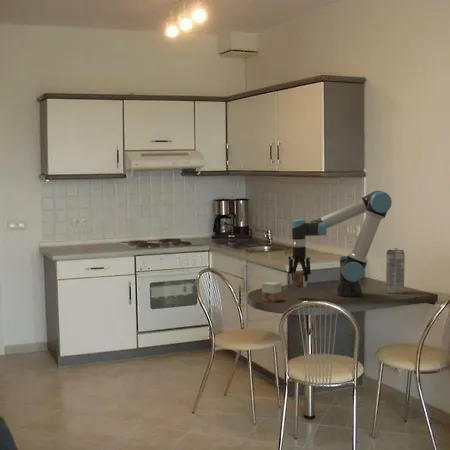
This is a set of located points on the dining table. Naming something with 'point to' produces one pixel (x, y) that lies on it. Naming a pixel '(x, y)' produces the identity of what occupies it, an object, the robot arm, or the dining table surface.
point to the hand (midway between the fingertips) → (299, 286)
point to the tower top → (271, 287)
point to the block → (298, 279)
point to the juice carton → (395, 271)
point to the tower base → (271, 297)
